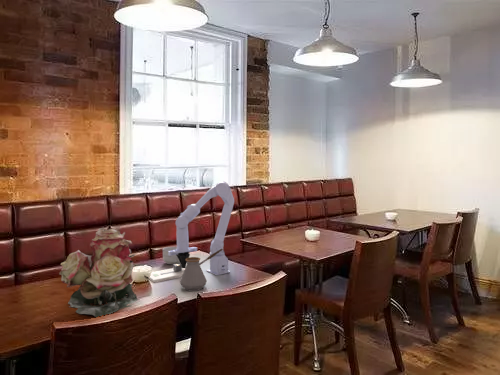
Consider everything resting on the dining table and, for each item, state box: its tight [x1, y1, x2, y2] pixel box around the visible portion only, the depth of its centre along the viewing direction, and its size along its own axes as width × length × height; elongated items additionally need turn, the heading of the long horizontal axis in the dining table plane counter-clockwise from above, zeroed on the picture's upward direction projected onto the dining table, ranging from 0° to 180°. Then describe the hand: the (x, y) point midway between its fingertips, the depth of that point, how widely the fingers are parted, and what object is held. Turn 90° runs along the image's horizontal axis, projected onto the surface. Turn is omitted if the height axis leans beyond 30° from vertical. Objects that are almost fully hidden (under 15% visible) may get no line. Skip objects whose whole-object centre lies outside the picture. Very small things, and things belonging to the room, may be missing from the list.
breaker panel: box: [149, 267, 185, 283], centre depth 196 cm, size 12×22×1 cm, turn 125°
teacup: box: [162, 246, 180, 265], centre depth 215 cm, size 14×11×8 cm
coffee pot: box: [179, 249, 225, 292], centre depth 180 cm, size 21×12×15 cm, turn 127°
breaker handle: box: [172, 263, 182, 272], centre depth 198 cm, size 3×3×3 cm
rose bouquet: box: [59, 227, 139, 318], centre depth 159 cm, size 26×29×30 cm
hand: (183, 267), depth 200 cm, fingers closed
